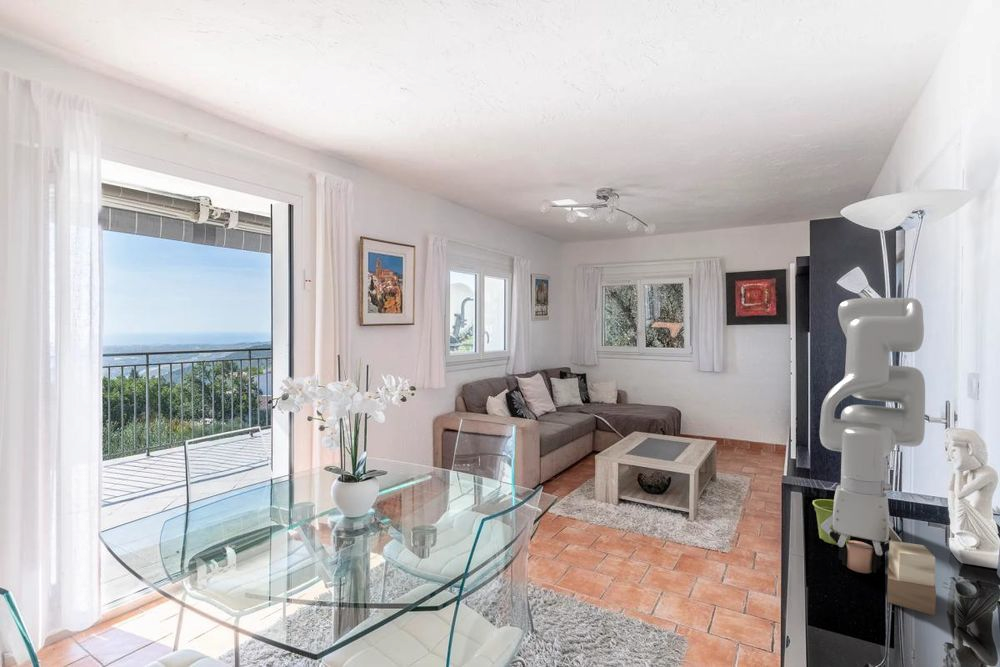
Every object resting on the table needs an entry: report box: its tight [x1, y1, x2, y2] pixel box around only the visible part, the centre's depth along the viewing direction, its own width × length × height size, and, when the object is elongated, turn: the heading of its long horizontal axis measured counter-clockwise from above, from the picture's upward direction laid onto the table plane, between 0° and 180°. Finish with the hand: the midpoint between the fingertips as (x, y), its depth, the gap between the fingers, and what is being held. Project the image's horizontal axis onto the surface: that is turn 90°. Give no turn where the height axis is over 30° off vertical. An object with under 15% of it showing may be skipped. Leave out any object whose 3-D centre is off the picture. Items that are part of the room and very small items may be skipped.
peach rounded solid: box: [845, 540, 874, 574], centre depth 112 cm, size 5×5×5 cm
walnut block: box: [886, 563, 937, 616], centre depth 99 cm, size 7×7×5 cm
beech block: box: [888, 541, 936, 586], centre depth 99 cm, size 6×6×6 cm
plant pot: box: [812, 498, 851, 546], centre depth 125 cm, size 9×9×9 cm
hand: (858, 565), depth 112 cm, fingers closed on peach rounded solid, 4 cm apart
